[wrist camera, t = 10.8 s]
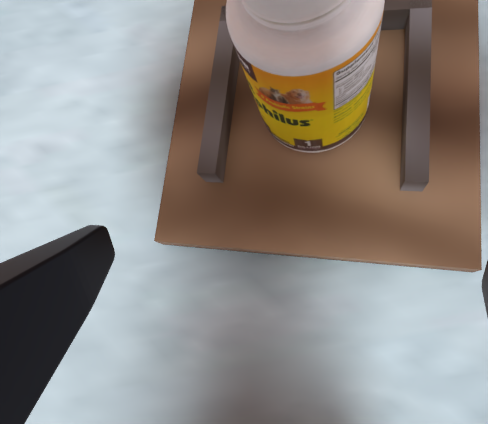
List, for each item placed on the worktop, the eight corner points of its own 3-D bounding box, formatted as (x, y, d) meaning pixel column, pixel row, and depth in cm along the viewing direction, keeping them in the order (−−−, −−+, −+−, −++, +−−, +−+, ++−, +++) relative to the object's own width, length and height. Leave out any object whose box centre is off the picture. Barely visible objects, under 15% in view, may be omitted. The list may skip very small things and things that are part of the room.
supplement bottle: (243, 113, 22) (167, -44, 12) (315, 45, 22) (297, -166, 12) (313, 179, 20) (289, 54, 10) (392, 104, 20) (442, -90, 10)
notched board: (472, 272, 18) (494, 266, 16) (163, 244, 22) (141, 236, 20) (470, -15, 22) (487, -57, 19) (202, 6, 26) (187, -27, 23)
